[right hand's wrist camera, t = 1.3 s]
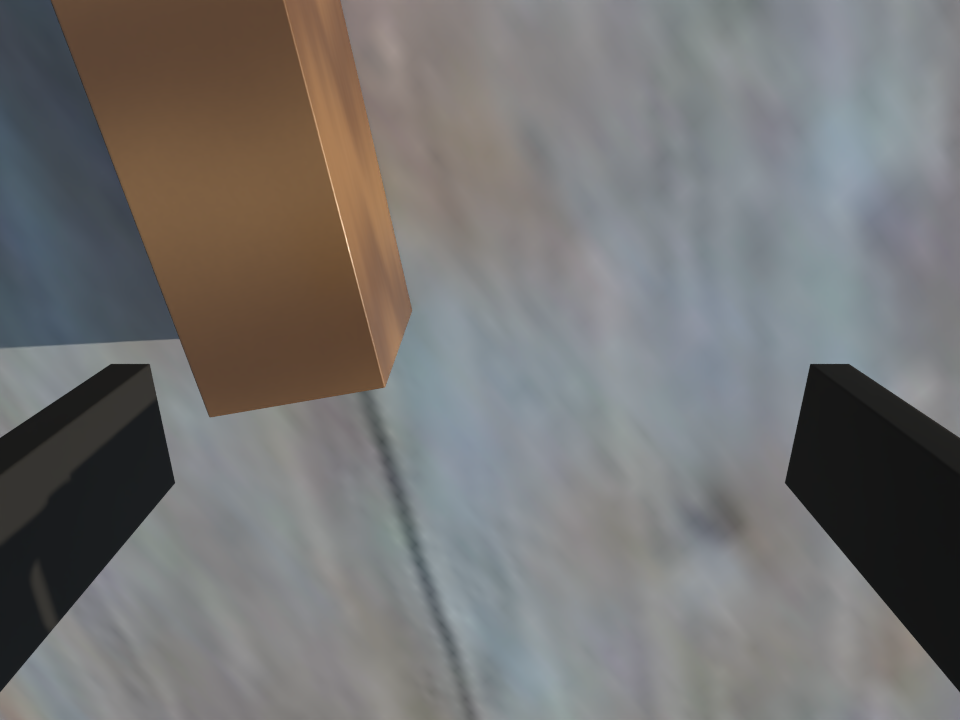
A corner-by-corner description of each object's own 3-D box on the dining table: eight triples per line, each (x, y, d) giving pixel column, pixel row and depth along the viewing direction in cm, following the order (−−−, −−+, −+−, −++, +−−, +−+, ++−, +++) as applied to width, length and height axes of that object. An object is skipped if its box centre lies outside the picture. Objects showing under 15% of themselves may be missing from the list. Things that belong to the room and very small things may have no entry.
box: (412, 311, 29) (385, 388, 20) (286, 333, 29) (208, 418, 21) (265, -322, 21) (121, -623, 12) (94, -279, 21) (-159, -545, 13)
